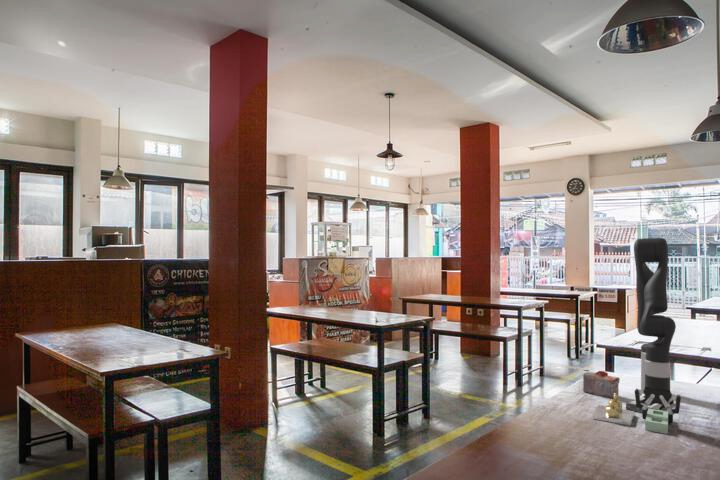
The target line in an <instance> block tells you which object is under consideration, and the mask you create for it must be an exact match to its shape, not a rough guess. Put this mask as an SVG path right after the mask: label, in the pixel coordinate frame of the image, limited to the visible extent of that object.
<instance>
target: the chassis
mask: <svg viewBox="0 0 720 480" xmlns="http://www.w3.org/2000/svg"><path fill="white" fill-rule="evenodd" d="M635 412H636V411H632V410H626V409H623V401H621V400H619V399H618V396H617V394H616V393H615V394H614V397H613V399H612V398H610V399H609V400H608V405H606V406H604V405H597V407H596V408H595V410H594V412H593V414H592V419H593V420H598V421H603V422H609V423H612V424H613V423H614V424H620V425H624V426H632V425H633V420H634V419H635V416H636V415H635Z"/></svg>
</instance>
